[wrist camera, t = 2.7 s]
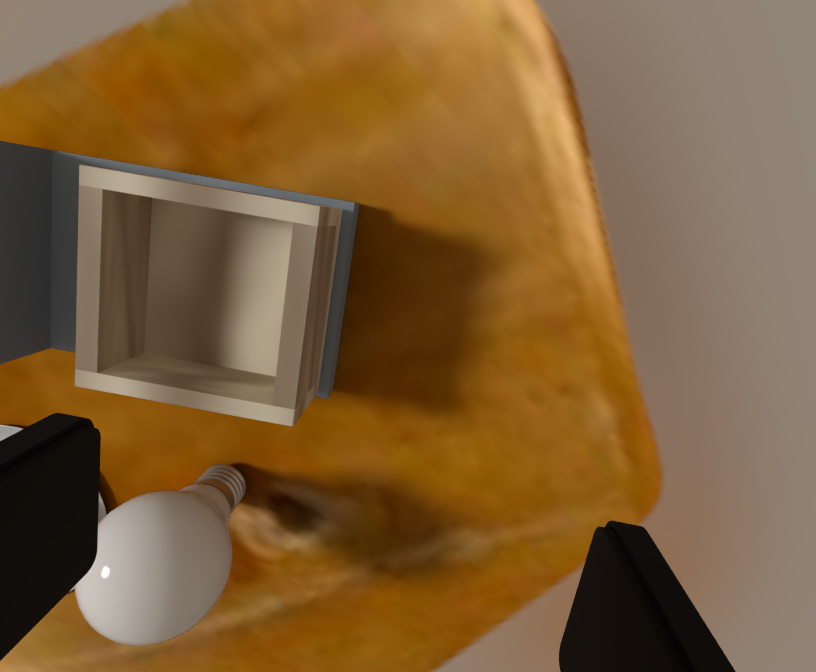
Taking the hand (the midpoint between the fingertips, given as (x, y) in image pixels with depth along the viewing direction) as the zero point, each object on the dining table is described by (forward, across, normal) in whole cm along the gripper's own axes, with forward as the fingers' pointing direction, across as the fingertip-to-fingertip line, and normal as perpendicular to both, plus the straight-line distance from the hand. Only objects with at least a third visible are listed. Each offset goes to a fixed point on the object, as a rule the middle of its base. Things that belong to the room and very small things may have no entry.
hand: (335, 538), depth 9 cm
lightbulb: (+19, +9, +12) cm, 24 cm away
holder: (+17, +9, -1) cm, 20 cm away
